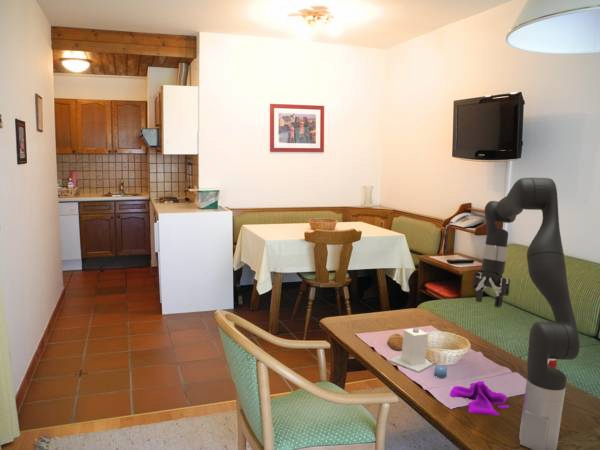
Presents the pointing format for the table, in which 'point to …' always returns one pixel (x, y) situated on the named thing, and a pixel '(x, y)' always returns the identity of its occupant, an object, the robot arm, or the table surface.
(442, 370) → the blue rounded block
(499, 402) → the cloth
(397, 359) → the mat
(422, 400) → the table surface
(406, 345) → the white square bottle
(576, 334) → the robot arm
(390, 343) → the pastry
